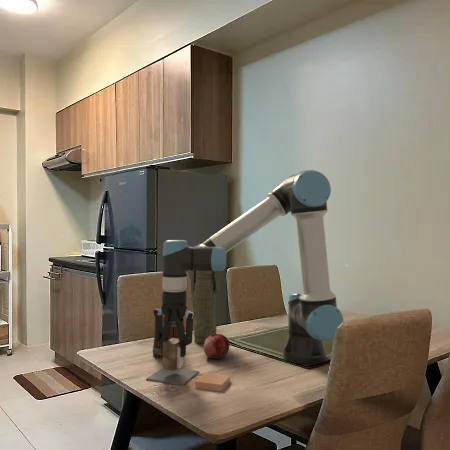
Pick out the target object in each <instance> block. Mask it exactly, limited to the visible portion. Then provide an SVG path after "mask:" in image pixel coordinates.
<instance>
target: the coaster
mask: <svg viewBox="0 0 450 450" xmlns="http://www.w3.org/2000/svg"><path fill="white" fill-rule="evenodd" d="M199 373H200V371H199V370H193V369H187V368H182V367H181V368H178V369H176V370H175V371H173V370H166V369H163V367H161V368H159V370H157V371H156V372H153V373H152V374H151V375H149V376H147V377H146V381H151V382H156V383H157V382H158V383H162V384H163V383H165V384H171V385H176V386H184V385H185V384H186V383H188V382H189V381H190V380H192V379H193V378H194V377H195V376H197V375H198V374H199Z"/></svg>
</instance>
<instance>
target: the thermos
mask: <svg viewBox="0 0 450 450" xmlns="http://www.w3.org/2000/svg"><path fill="white" fill-rule="evenodd" d="M220 272H221V271H215V272H214V271H192V283H191V284H192V291H194V299H195V321H194V323H193V336H194V343H195V344H197V345H204V343H205V340H206V339H207V338H208V337H209V336H210V335H211V333H212V332H214V330H215V331H216V332H217V322H216V299H217V294H218V292H220V279H221V278H220V276H221V275H220V274H221V273H220ZM214 333H215V332H214Z"/></svg>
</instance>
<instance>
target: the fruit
mask: <svg viewBox="0 0 450 450" xmlns="http://www.w3.org/2000/svg"><path fill="white" fill-rule="evenodd" d="M214 332H215V333H214ZM214 332H212V333H211V335H210V336H209V337H208V338H207V339H206V340H205V343H204V344H203V352H204V354H205V355H206V358H207V357H208V358H210V359H220V358H223V357H224V356H225V355H227V354H228V353H229V350H230V341H229V339H228V338H227V337H226V335H224V334H222V333H217V330H216V331H215V330H214Z"/></svg>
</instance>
